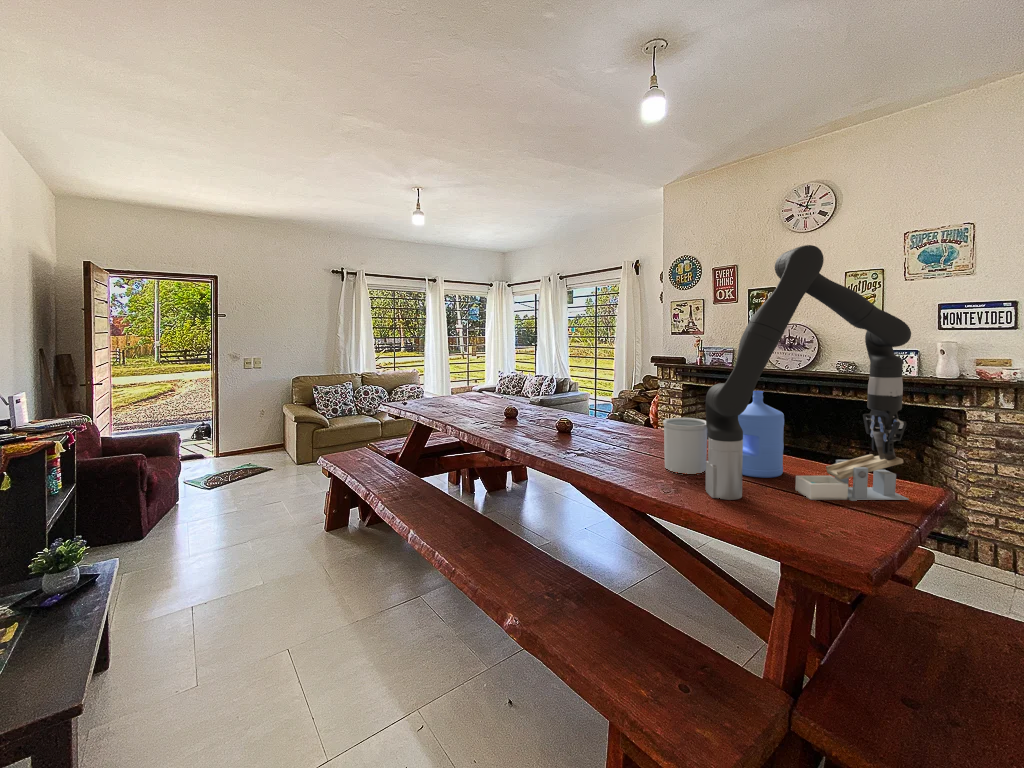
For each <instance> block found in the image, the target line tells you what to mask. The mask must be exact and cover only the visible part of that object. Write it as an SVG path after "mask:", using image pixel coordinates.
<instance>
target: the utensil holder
mask: <svg viewBox="0 0 1024 768" xmlns="http://www.w3.org/2000/svg"><path fill="white" fill-rule="evenodd" d="M662 422H663V423H662V424H663V437H664V438H663V439H664V441H663V442H664V445H663V449H664V451H663V452H664V469H665V468H666V469H668V470H670V471H673V472H678V473H685V474H686V473H687V474H696V473H702V472H704V471H705V472H706V461H707V458H708V429H707V426H706V419H700V418H694V417H672V418H671V417H670V418H665V419H664V420H663V421H662ZM666 469H665V470H666ZM668 470H667V471H668ZM670 471H669V472H670ZM673 472H672V473H673ZM705 472H704V473H705ZM702 474H703V473H702Z"/></svg>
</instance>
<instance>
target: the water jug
mask: <svg viewBox="0 0 1024 768" xmlns="http://www.w3.org/2000/svg"><path fill="white" fill-rule="evenodd" d="M763 393H764V391H762V390H754V391H753V393H752V402H751V403H748V406H747V407H746V409H745V410H744V412H743V413H741V414H740V415H738V421H739V424H740V426H741V428H742V430H743V468H742V476H745V477H750V478H751V477H752V478H758V479H759V478H761V479H762V478H763V479H764V478H765V479H767V478H768V479H769V478H770V479H771V478H777V477H780V476H782V474H783V473H784V465H783V463H784V461H783V460H784V459H783V458H784V448H785V447H784V427H785V415H784V413H783V412H782V411H781V410H779V409H776V408H774V407H772V406H770V405H768V404H766V403H764V394H763Z"/></svg>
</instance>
